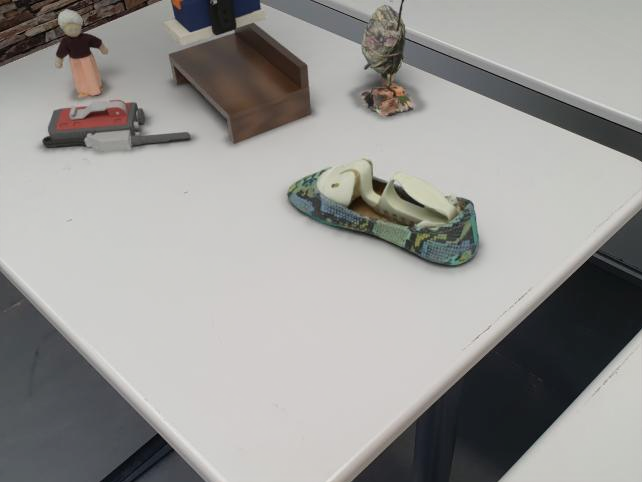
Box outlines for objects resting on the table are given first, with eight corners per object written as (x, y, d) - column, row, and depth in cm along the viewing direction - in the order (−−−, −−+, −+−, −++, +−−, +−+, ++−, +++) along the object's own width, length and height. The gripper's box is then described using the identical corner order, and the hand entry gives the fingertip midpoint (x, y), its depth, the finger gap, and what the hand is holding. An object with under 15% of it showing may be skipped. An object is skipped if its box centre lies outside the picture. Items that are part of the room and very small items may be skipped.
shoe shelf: (234, 148, 92) (225, 94, 86) (175, 85, 104) (163, 33, 98) (311, 119, 96) (307, 64, 90) (245, 61, 108) (238, 10, 102)
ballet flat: (311, 176, 88) (306, 119, 82) (493, 234, 79) (503, 175, 73) (273, 216, 83) (265, 159, 77) (462, 282, 74) (471, 224, 68)
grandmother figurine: (76, 109, 101) (46, 23, 92) (65, 99, 103) (34, 14, 94) (123, 90, 104) (98, 5, 95) (111, 80, 106) (86, -4, 97)
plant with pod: (401, 76, 103) (406, -71, 88) (424, 116, 95) (433, -37, 80) (347, 84, 102) (343, -62, 87) (366, 125, 94) (366, -27, 79)
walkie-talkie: (42, 161, 93) (191, 148, 93) (30, 133, 89) (184, 119, 90) (54, 125, 98) (194, 113, 99) (43, 97, 95) (188, 84, 95)
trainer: (181, 46, 87) (173, 7, 84) (165, 30, 90) (156, -8, 87) (265, 19, 91) (260, -20, 87) (246, 5, 94) (241, -33, 90)
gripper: (127, -148, 81) (163, 8, 94) (187, -111, 71) (217, 57, 84) (186, -161, 83) (212, -7, 97) (251, -127, 73) (271, 39, 87)
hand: (214, 21), depth 90 cm, fingers closed on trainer, 5 cm apart
